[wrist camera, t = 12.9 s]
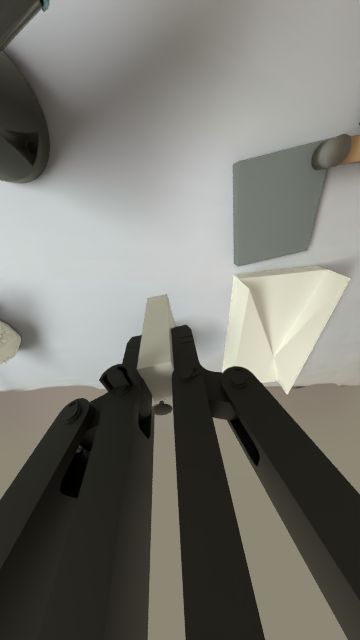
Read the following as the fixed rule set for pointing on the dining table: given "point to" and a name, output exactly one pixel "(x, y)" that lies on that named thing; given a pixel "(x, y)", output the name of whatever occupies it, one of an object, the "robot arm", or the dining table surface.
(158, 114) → the dining table surface
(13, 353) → the white lobed sculpture
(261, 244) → the stool seat
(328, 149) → the hinged leg
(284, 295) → the building model
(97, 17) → the dining table surface
